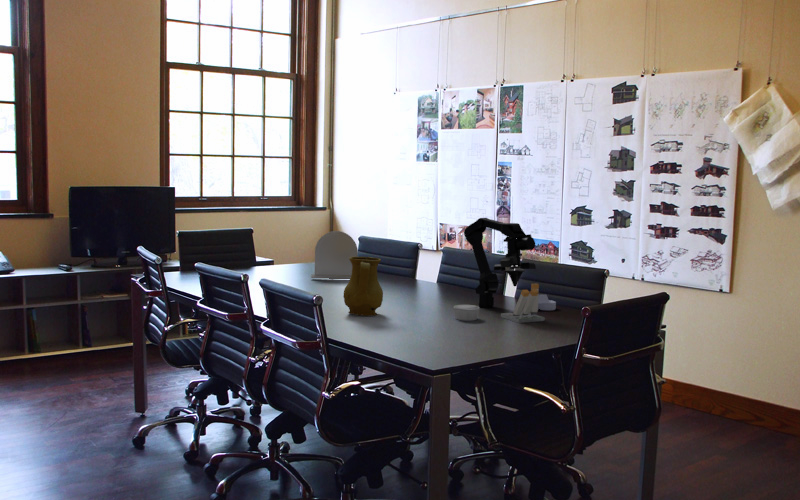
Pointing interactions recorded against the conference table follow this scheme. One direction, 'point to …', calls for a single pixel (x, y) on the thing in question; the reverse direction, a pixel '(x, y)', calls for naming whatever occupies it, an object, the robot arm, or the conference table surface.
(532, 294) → the grey long bar piece
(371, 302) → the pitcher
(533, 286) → the tripped breaker
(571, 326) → the conference table surface
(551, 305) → the wedge on round base
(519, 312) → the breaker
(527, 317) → the panel
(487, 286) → the robot arm
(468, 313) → the ramekin
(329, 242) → the award
